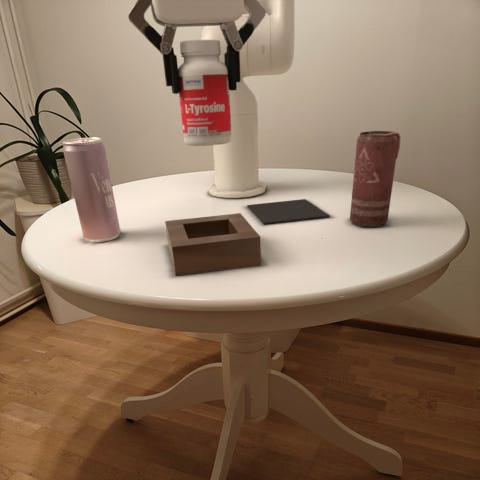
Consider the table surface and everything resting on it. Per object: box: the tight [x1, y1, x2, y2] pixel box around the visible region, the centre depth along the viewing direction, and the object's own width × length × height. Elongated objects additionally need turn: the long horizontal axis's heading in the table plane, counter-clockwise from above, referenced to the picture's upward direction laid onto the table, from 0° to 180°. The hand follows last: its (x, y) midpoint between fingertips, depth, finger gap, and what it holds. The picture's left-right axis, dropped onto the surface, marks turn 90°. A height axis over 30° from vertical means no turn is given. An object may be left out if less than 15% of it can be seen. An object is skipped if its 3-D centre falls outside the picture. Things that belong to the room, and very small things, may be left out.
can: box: [349, 130, 401, 228], centre depth 68 cm, size 6×6×14 cm
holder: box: [164, 212, 262, 277], centre depth 60 cm, size 12×12×4 cm
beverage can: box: [62, 137, 121, 243], centre depth 66 cm, size 6×6×15 cm
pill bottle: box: [178, 39, 232, 147], centre depth 52 cm, size 6×6×11 cm
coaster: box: [246, 198, 330, 226], centre depth 78 cm, size 12×12×1 cm
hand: (203, 90), depth 52 cm, fingers closed on pill bottle, 6 cm apart
